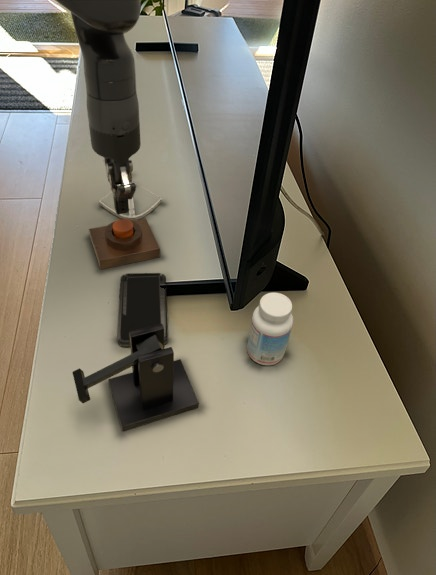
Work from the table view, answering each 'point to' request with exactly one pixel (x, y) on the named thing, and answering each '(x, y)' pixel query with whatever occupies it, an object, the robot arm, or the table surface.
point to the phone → (141, 304)
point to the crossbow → (131, 209)
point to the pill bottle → (270, 329)
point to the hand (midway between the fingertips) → (121, 211)
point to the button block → (124, 245)
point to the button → (123, 228)
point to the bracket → (151, 384)
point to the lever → (113, 368)
